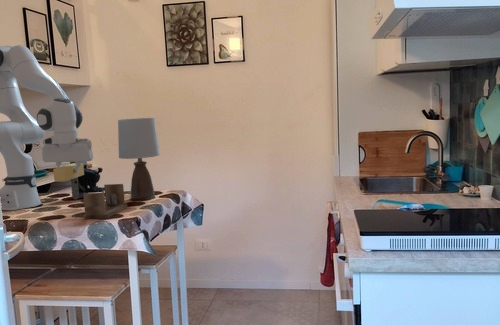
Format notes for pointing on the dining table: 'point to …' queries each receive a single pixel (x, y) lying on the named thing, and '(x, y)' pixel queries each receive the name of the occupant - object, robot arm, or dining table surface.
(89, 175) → the vintage camera
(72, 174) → the plank
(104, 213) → the brown u-shaped block
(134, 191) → the lamp
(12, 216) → the dining table surface
